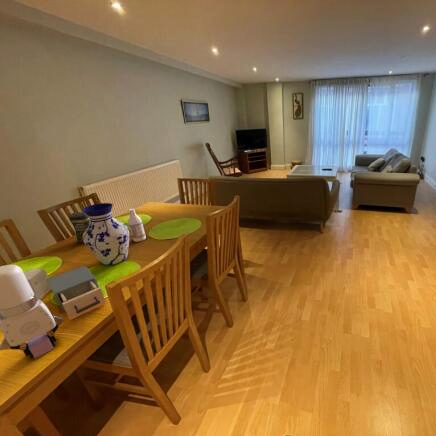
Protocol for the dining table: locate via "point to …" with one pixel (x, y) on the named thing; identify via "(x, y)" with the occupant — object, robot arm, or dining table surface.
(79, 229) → the coffee jar
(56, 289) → the drawer box
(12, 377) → the dining table surface
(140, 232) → the bath foam
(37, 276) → the small box
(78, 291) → the sliding drawer
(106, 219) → the vase
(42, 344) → the lavender rounded block
